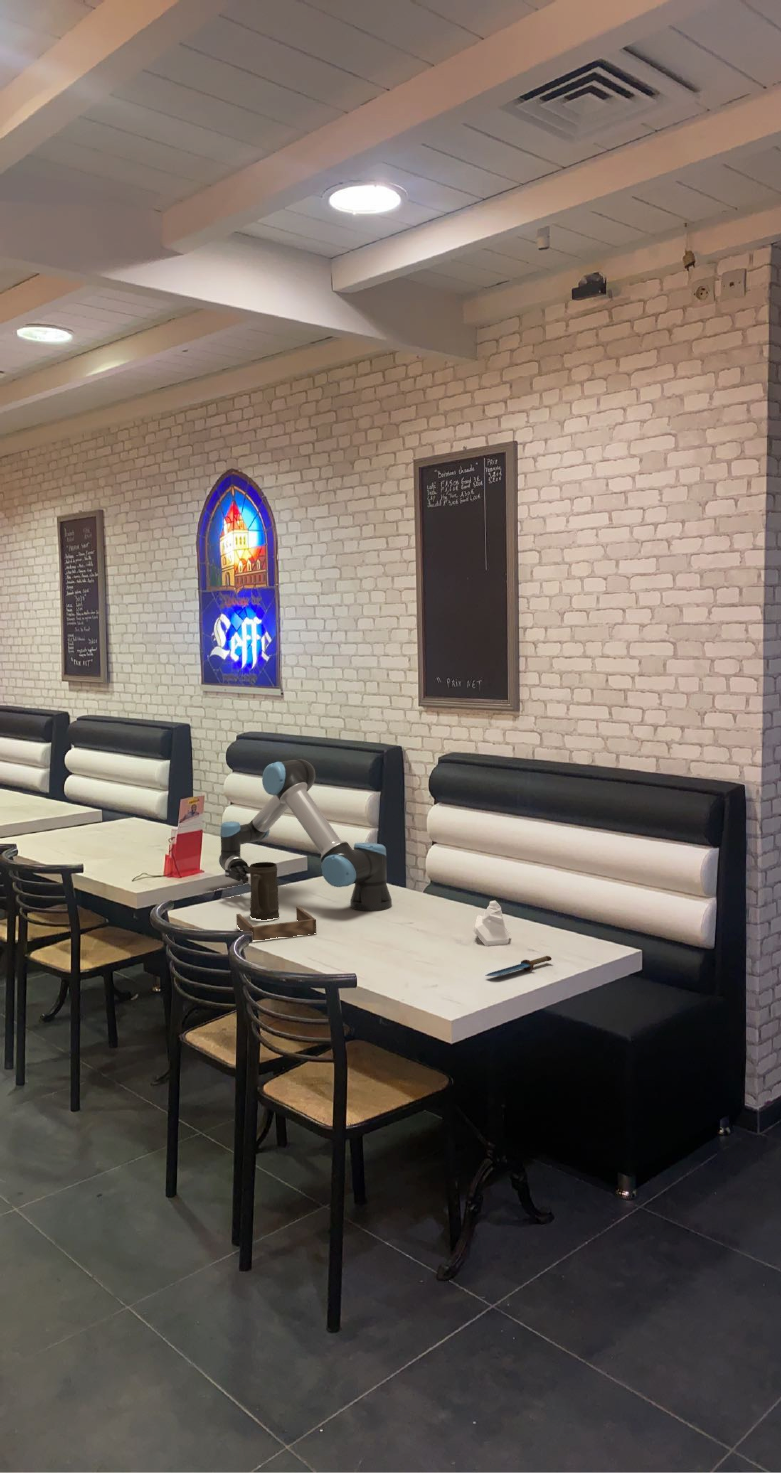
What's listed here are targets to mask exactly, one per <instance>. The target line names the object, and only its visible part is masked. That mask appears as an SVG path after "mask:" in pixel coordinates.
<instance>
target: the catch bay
mask: <svg viewBox="0 0 781 1473" xmlns="http://www.w3.org/2000/svg"><path fill="white" fill-rule="evenodd" d="M295 916H296V920H294V921H287V922H277V923H270V924H262V925H254V926H253V925H252V924H251V923H250V922H249V921H248V920H247V919H246V918H245V917H244V916H243V915H242V914H241V913H236V916H235V917H236V926H237V925H238V927H239V928H240V930H243V931H252V932H253V940H265V939H270V938H276V937H277V938H278V937H293V936H297V935H308V934H314V933H316V934H317V919H316V918H315V917H313V916H312V915H311V914H309V913H308V912H307V911H305V910H304V908H302V907H301V906H296V915H295ZM297 920H298V921H297ZM308 936H309V935H308ZM293 938H294V937H293Z"/></svg>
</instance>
